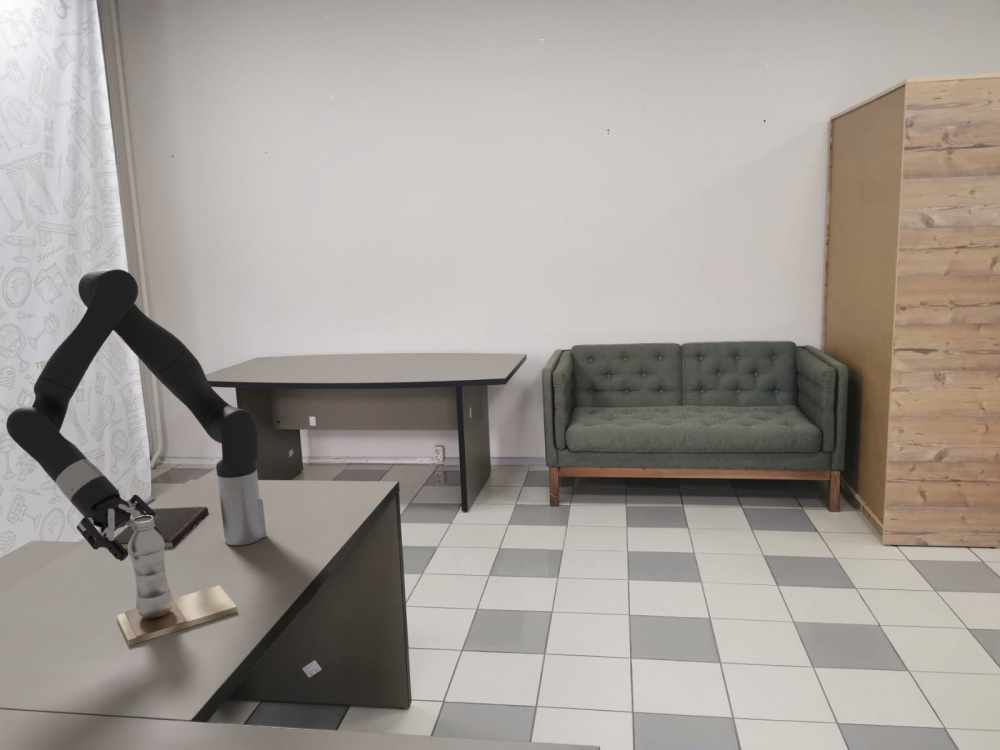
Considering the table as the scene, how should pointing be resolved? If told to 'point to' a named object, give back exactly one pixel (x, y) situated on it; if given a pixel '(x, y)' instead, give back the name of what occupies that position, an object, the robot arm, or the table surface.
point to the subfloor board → (177, 615)
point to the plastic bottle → (149, 569)
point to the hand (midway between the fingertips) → (142, 548)
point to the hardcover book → (169, 524)
